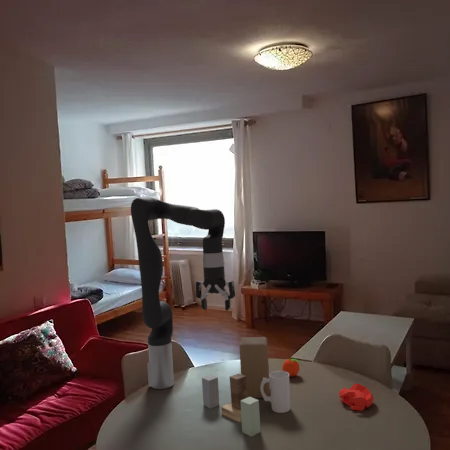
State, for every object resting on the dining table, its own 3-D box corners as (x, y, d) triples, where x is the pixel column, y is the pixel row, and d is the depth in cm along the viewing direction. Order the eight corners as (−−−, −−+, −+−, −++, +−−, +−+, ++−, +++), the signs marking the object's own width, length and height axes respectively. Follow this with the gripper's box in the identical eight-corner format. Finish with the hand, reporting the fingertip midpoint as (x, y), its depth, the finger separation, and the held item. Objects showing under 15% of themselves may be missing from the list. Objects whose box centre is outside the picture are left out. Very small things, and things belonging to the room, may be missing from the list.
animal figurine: (370, 393, 164) (369, 379, 164) (376, 412, 149) (376, 397, 149) (337, 392, 166) (336, 379, 166) (340, 410, 151) (339, 395, 151)
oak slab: (240, 424, 147) (239, 415, 147) (221, 415, 154) (221, 406, 154) (259, 414, 153) (258, 405, 153) (241, 406, 160) (240, 398, 160)
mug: (290, 404, 158) (289, 370, 157) (291, 413, 151) (289, 378, 151) (262, 404, 159) (260, 370, 159) (260, 413, 153) (259, 378, 152)
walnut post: (239, 409, 150) (236, 379, 150) (231, 406, 154) (229, 376, 154) (248, 405, 153) (246, 376, 153) (241, 402, 156) (238, 373, 156)
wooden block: (269, 387, 173) (267, 336, 172) (269, 398, 163) (266, 344, 162) (243, 387, 174) (240, 336, 173) (242, 399, 164) (239, 344, 163)
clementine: (303, 373, 186) (302, 356, 186) (302, 379, 179) (301, 362, 179) (283, 372, 188) (282, 355, 187) (281, 379, 181) (280, 361, 181)
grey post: (210, 408, 158) (208, 380, 158) (203, 405, 161) (201, 377, 161) (219, 405, 161) (217, 377, 160) (212, 401, 164) (210, 374, 163)
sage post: (251, 436, 138) (249, 404, 137) (242, 432, 141) (240, 400, 140) (260, 431, 140) (258, 400, 140) (251, 427, 143) (249, 396, 143)
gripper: (191, 266, 161) (193, 311, 162) (229, 266, 157) (231, 312, 158) (199, 263, 169) (201, 306, 169) (235, 263, 164) (238, 307, 165)
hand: (216, 309), depth 163 cm, fingers open, 8 cm apart
